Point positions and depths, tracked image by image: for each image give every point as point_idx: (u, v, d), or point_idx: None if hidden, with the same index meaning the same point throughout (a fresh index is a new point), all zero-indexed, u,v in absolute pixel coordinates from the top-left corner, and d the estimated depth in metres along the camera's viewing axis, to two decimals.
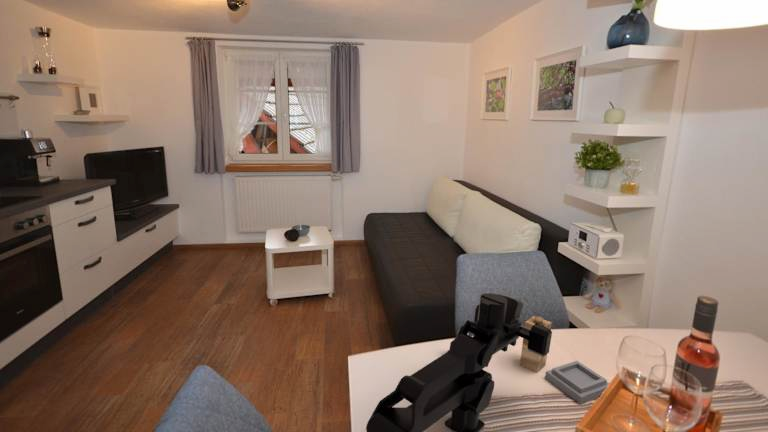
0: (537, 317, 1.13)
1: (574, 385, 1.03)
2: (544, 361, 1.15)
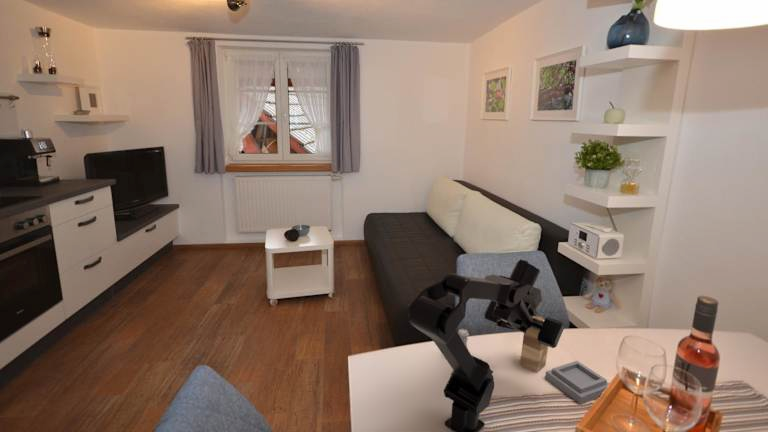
0: (537, 317, 1.13)
1: (574, 385, 1.03)
2: (544, 361, 1.15)
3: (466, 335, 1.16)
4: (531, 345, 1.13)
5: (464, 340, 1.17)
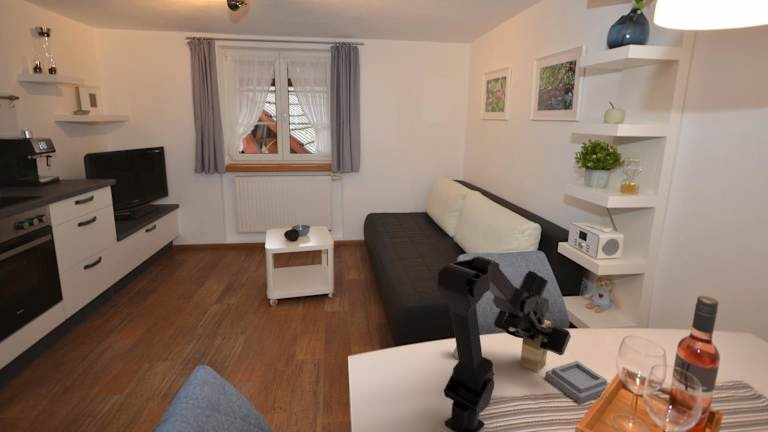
0: None
1: (574, 385, 1.03)
2: (544, 361, 1.15)
3: None
4: (531, 345, 1.13)
5: None
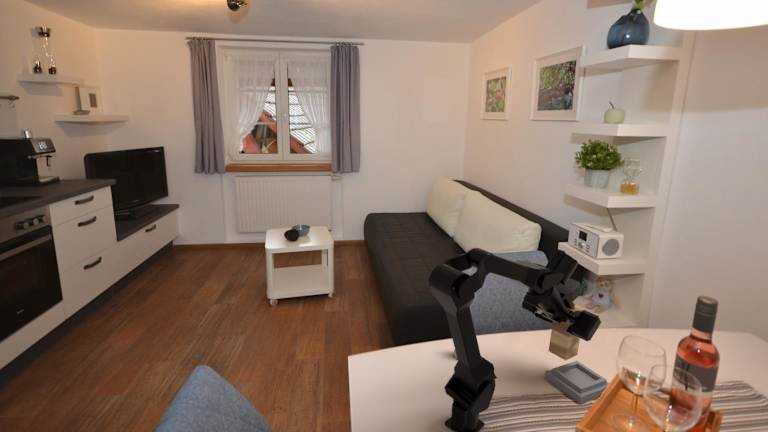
0: None
1: (574, 385, 1.03)
2: (575, 350, 1.08)
3: None
4: (560, 331, 1.07)
5: None
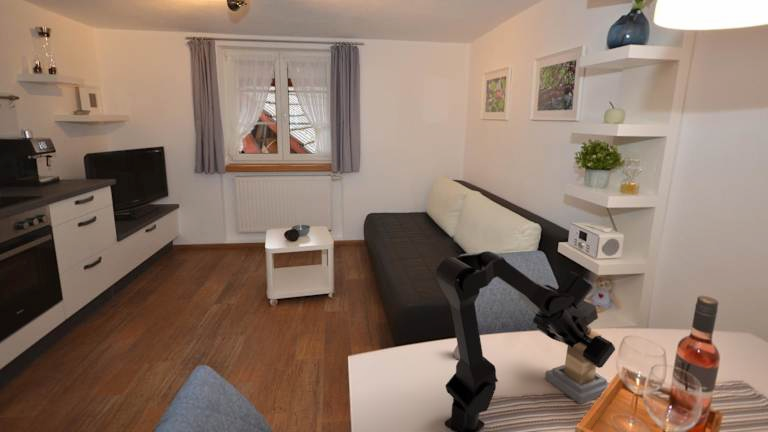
0: None
1: (574, 385, 1.03)
2: (591, 376, 1.05)
3: None
4: (575, 356, 1.05)
5: None
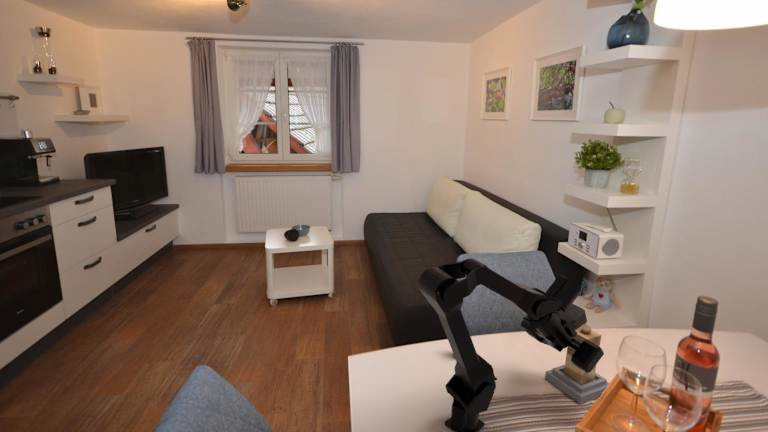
0: (585, 327, 1.04)
1: (574, 385, 1.03)
2: (591, 376, 1.05)
3: None
4: None
5: None
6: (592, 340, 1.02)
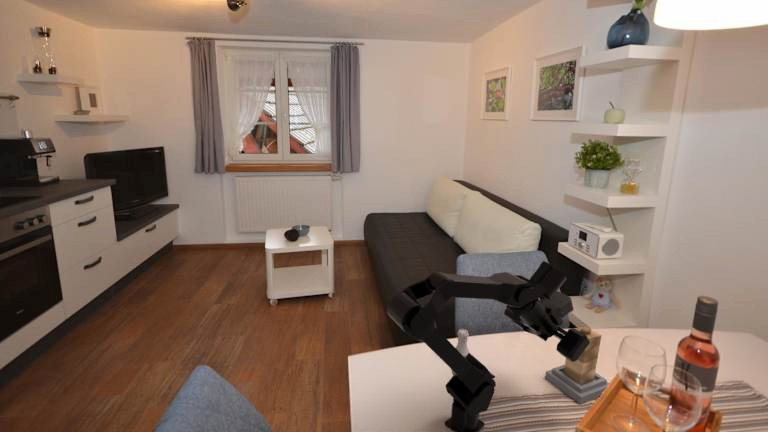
0: (585, 327, 1.04)
1: (574, 385, 1.03)
2: (591, 376, 1.05)
3: (466, 335, 1.16)
4: None
5: (464, 340, 1.17)
6: (592, 340, 1.02)
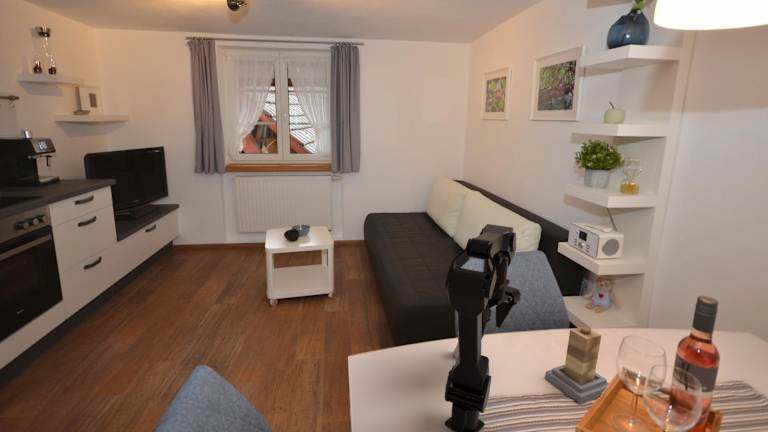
0: (585, 327, 1.04)
1: (574, 385, 1.03)
2: (591, 376, 1.05)
3: None
4: (575, 356, 1.05)
5: None
6: (592, 340, 1.02)
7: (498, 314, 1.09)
